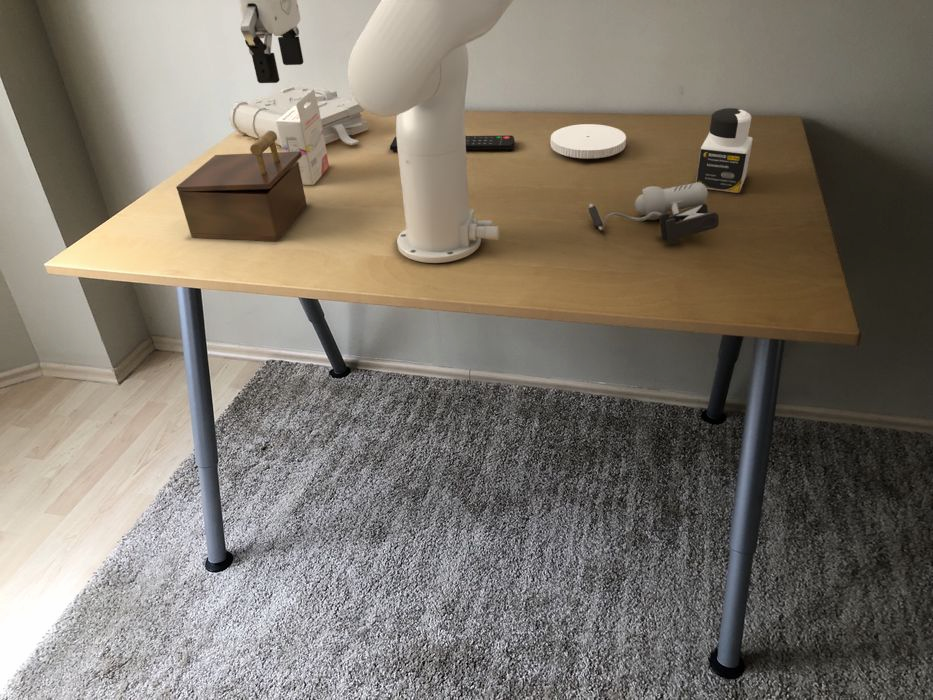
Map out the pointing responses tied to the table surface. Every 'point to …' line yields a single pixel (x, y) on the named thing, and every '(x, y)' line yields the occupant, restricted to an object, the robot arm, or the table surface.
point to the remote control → (480, 142)
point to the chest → (246, 210)
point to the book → (264, 112)
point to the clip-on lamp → (671, 199)
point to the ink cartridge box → (305, 138)
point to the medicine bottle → (726, 151)
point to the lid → (243, 168)
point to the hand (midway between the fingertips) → (281, 73)
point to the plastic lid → (588, 141)
